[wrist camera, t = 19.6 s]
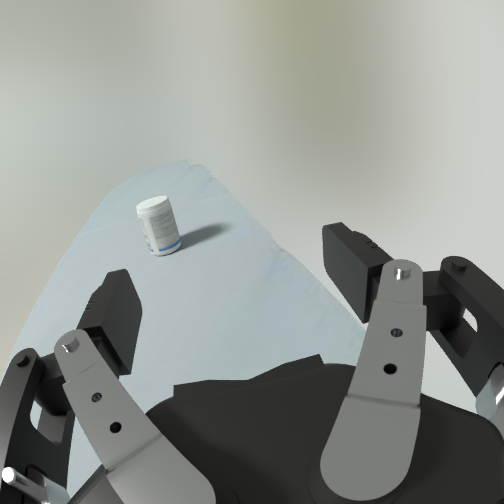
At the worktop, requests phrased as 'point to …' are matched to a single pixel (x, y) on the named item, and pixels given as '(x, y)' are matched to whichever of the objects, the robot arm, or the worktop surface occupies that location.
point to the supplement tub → (159, 225)
